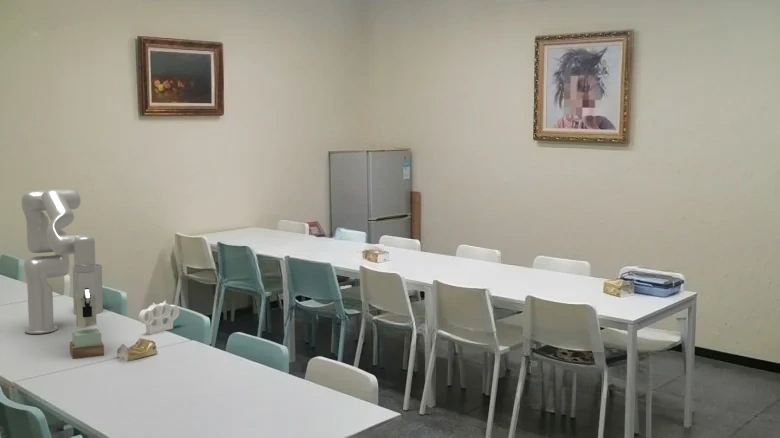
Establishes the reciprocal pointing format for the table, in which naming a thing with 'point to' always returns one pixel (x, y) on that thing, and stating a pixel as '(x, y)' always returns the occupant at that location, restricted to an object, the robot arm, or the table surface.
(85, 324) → the skincare box
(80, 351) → the tower base block
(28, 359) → the table surface
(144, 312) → the white brass knuckles
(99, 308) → the cylinder vase
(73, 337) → the tower top block
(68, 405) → the table surface
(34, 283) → the robot arm
